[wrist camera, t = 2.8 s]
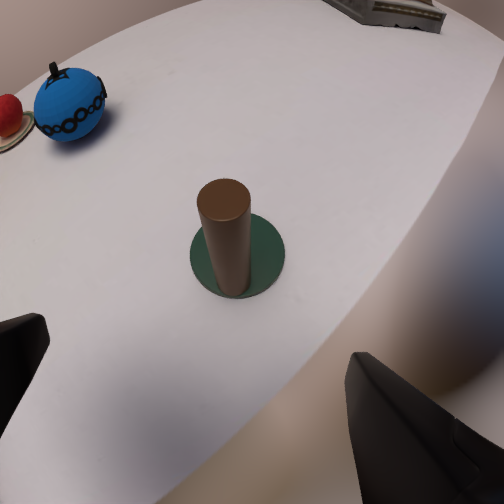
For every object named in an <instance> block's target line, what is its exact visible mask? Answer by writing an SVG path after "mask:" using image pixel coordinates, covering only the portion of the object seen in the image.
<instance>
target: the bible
mask: <svg viewBox="0 0 504 504" xmlns="http://www.w3.org/2000/svg"><path fill="white" fill-rule="evenodd" d="M324 1H326V2H328V3H329V4H331V5H332V6H333V7H335V8H337V9H338V10H340V11H341V12H343V13H345V14H346V15H348V16H350V17H351V18H353V19H354V20H356V21H358V22H360V23H361V24H369V25H378V24H381V25H383V26H386V27H387V26H391V27H394V26H395V24H398V25H399V27H404V28H406V27H410V26H411V28H413V27H415V26H417V27H419V28H420V29H422V30H425V31H429V32H434V33H438V34H440V30H441V27H442V24H443V21H444V19H445V16H446V13H445V12H443V11H442V10H440V9H439V8H437V7H435V6H434V5H433V4H432V0H324Z"/></svg>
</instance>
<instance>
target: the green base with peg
mask: <svg viewBox="0 0 504 504" xmlns="http://www.w3.org/2000/svg"><path fill="white" fill-rule="evenodd" d="M197 207H198V211H199V216H200V220H201V224H202V227H201V228H200V229H199V230H198V232H197V233H196V235H195V237H194V239H193V241H192V244H191V248H190V262H191V266H192V269H193V272H194V274H195V276H196V277H197V279H198V280H199V282H200V283H201V284H202V285H203V286H204V287H205V288H206V289H208V290H209V291H211V292H213V293H215V294H217V295H219V296H222V297H227V298H235V299H238V298H247V297H251V296H254V295H257V294H259V293H261V292H263V291H264V290H266V289H267V288H268V287H270V286H271V285H272V284H273V283H274V282H275V280H276V279H277V278H278V276H279V274H280V272H281V270H282V267H283V264H284V258H285V249H284V244H283V240H282V238H281V236H280V234H279V233H278V231H277V230H276V229H275V227H274V226H273V225H272V224H271V223H270V222H268V221H267V220H265V219H264V218H262V217H260V216H257V215H255V214H251V197H250V193H249V191H248V189H247V188H246V187H245V186H244V185H243V184H242V183H240V182H238V181H236V180H233V179H217V180H214V181H212V182H210V183H208V184H206V185H205V186H204V187H203V188H202V189H201V191H200V192H199V194H198V197H197Z"/></svg>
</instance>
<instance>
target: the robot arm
mask: <svg viewBox="0 0 504 504" xmlns="http://www.w3.org/2000/svg"><path fill="white" fill-rule="evenodd" d="M49 344H50V336H49V333H48V329H47V325H46V321H45V318H44V317H43V316H42V315H40V314H36V313H29V314H26V315H23V316H19V317H16V318H13V319H9V320H6V321H2V322H0V438H1V436H2V434H3V432H4V430H5V428H6V426H7V425H8V423H9V421H10V419H11V417H12V415H13V413H14V411H15V410H16V408H17V406H18V404H19V402H20V401H21V399H22V397H23V395H24V394H25V392H26V390H27V388H28V387H29V385H30V383H31V381H32V379H33V377H34V375H35V373H36V371H37V369H38V367H39V365H40V363H41V360H42V358H43V356H44V354H45V352H46V350H47V348H48V346H49ZM345 392H346V403H347V414H348V426H349V434H350V439H351V444H352V448H353V454H354V459H355V463H356V468H357V474H358V479H359V485H360V490H361V496H362V501H363V504H504V449H502V448H501V447H499V446H497V445H496V444H494V443H492V442H491V441H489V440H487V439H486V438H484V437H483V436H481V435H479V434H478V433H477V432H475V431H474V430H472V429H471V428H469V427H468V426H466V425H465V424H464V423H462V422H461V421H460V420H458V419H457V418H456V419H455V417H454V416H453V415H451V414H450V413H449V412H447V411H446V410H445V409H443V408H442V407H441V406H439V405H438V404H436V403H435V402H434V401H432V400H431V399H430V398H428V397H427V396H426V395H424V394H423V393H422V392H420V391H419V390H418V389H416V388H415V387H414V386H412V385H411V384H410V383H408V382H407V381H405V380H404V379H403V378H401V377H400V376H399V375H397V374H396V373H395V372H393V371H392V370H391V369H389V368H388V367H387V366H385V365H384V364H383V363H381V362H380V361H379V360H377V359H376V358H375V357H373V356H372V355H370V354H369V353H368V352H354V353H353V354H352V355H351V358H350V361H349V365H348V368H347V372H346V376H345Z"/></svg>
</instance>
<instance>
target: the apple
mask: <svg viewBox="0 0 504 504" xmlns="http://www.w3.org/2000/svg"><path fill="white" fill-rule="evenodd" d="M33 116H34V112H33V111H25V112H23V109H22V104H21V102H20V100H19V99H18V98H17V97H15V96H14V95H12V94H5V95H2V96H0V151H3V150H6V149H8V148H9V147H11V146H13V145H14V144H15V143H17V142H18V141H19V140H20V139H21V138H22V137H23V136H24V135H25V134H26V133H27V132H28V131H29V130H30V128H31V127H32V125H33V124H34V120H33V119H34V118H33Z"/></svg>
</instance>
